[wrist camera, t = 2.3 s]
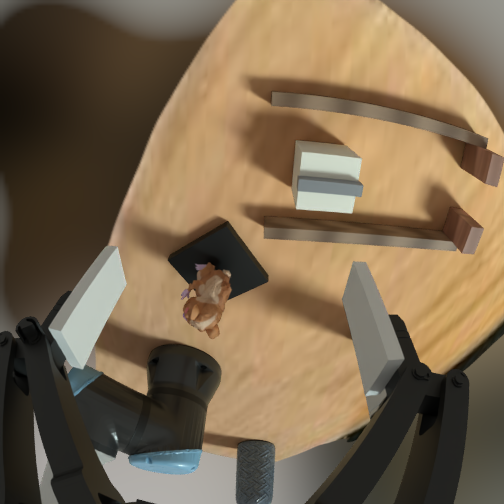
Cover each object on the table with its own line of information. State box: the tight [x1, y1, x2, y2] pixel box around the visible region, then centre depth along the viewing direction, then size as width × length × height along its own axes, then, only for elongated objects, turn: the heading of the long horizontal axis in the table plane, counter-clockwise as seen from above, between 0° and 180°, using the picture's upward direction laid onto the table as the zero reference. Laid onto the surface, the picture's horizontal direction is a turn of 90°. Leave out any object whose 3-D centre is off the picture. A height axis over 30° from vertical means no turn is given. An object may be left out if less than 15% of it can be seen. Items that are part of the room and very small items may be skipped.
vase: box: [236, 441, 275, 504], centre depth 68 cm, size 12×12×28 cm
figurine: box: [168, 221, 268, 339], centre depth 36 cm, size 10×10×12 cm
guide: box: [264, 91, 504, 254], centre depth 30 cm, size 29×17×6 cm, turn 88°
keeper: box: [292, 140, 363, 213], centre depth 30 cm, size 6×6×7 cm
